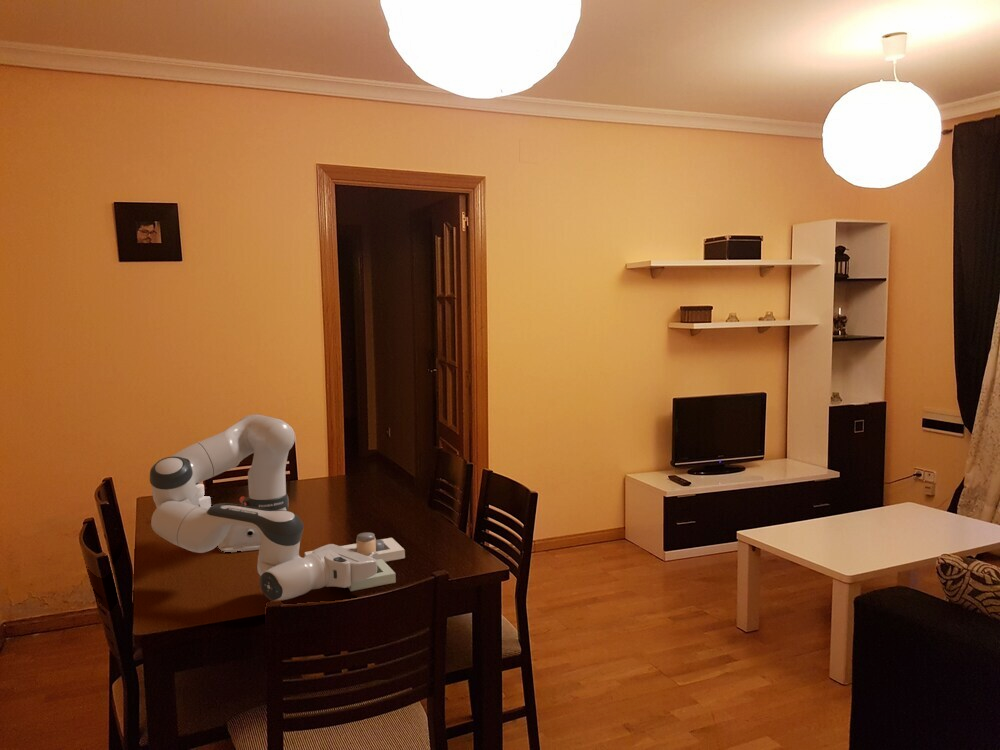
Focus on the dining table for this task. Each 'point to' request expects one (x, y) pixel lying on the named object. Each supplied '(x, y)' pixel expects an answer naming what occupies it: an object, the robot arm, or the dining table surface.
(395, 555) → the white rectangular tray
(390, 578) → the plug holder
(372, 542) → the tan plug
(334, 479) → the dining table surface
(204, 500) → the medicine bottle
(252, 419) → the robot arm
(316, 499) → the dining table surface
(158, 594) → the dining table surface
